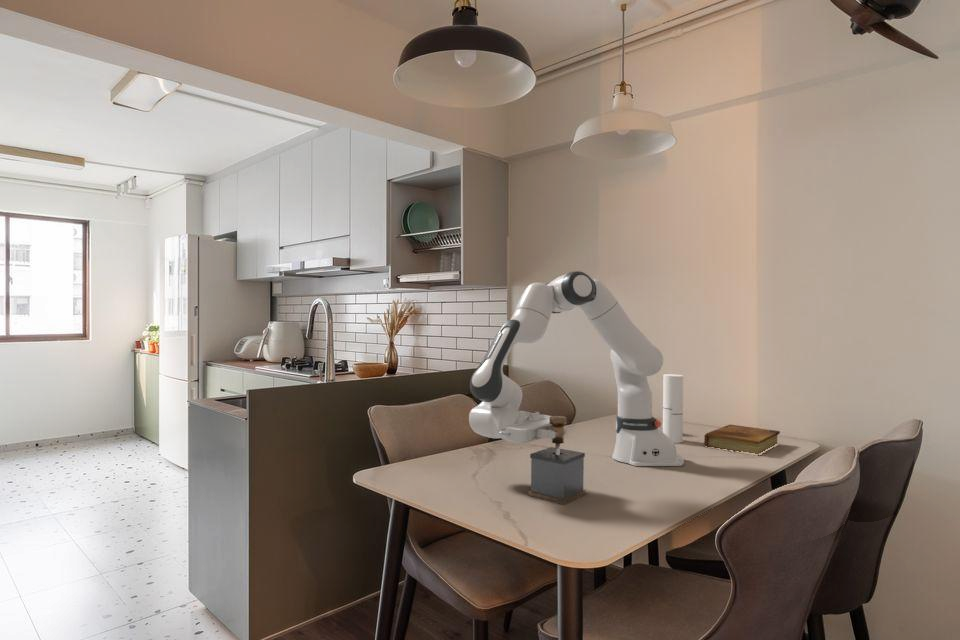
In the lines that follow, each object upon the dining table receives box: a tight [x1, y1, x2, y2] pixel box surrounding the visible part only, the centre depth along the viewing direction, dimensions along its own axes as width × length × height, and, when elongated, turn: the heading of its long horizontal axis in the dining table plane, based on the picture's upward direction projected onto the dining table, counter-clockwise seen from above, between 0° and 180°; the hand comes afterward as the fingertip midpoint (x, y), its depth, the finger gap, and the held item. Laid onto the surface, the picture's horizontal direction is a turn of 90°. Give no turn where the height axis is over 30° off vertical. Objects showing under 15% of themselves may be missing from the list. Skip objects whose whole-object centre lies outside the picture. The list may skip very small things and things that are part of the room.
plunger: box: [550, 415, 567, 455], centre depth 151 cm, size 8×8×19 cm
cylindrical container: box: [662, 373, 684, 444], centre depth 215 cm, size 7×7×25 cm
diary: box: [703, 423, 781, 454], centre depth 208 cm, size 23×19×6 cm
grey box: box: [528, 446, 587, 505], centre depth 151 cm, size 11×11×11 cm
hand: (560, 433), depth 150 cm, fingers closed on plunger, 3 cm apart
